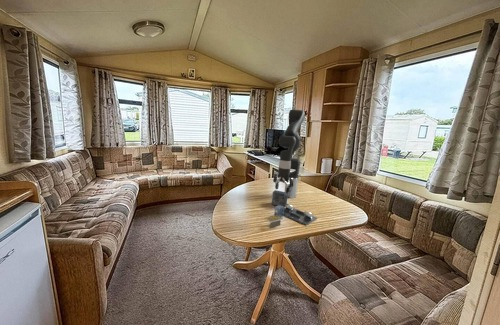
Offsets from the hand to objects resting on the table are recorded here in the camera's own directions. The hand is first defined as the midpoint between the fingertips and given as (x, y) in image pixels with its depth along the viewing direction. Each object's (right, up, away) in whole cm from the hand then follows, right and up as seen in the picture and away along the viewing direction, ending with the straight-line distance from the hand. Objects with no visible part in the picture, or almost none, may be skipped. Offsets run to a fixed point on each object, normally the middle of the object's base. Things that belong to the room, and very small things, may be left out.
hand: (282, 190), depth 141 cm
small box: (+1, -14, +23) cm, 27 cm away
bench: (+12, -18, +6) cm, 23 cm away
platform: (-6, -21, -9) cm, 24 cm away
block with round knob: (-2, -18, +4) cm, 18 cm away
